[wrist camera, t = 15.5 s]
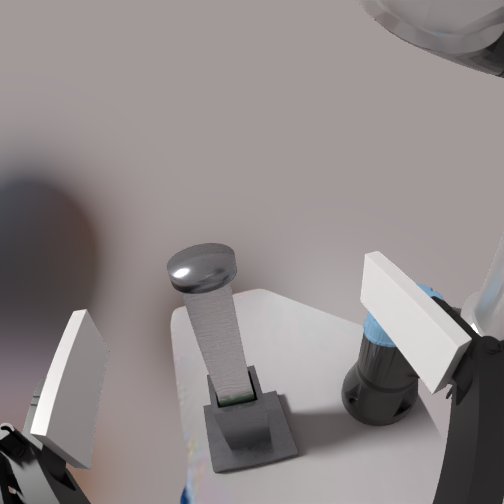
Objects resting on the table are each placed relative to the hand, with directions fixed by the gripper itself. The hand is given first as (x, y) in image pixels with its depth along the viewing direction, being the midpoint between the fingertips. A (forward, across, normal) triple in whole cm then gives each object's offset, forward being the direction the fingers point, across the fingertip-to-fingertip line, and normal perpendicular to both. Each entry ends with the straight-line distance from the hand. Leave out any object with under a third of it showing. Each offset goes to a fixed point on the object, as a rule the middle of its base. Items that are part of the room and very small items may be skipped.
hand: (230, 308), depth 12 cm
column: (+14, -2, -32) cm, 35 cm away
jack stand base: (+14, -2, -40) cm, 42 cm away
